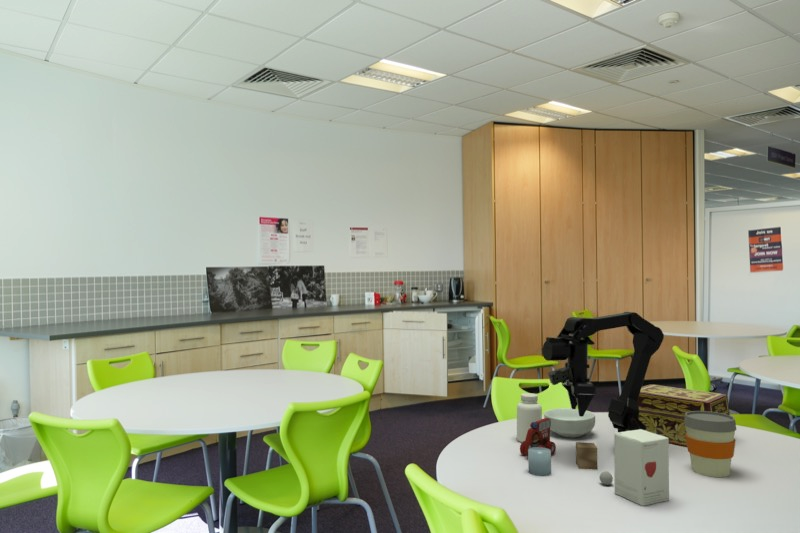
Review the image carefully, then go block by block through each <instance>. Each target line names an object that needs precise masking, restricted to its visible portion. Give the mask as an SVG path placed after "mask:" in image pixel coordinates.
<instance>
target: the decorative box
mask: <svg viewBox="0 0 800 533" xmlns="http://www.w3.org/2000/svg"><path fill="white" fill-rule="evenodd" d="M728 399H729V398H728V394H725V393H718V392H712V391H711V392H710V391H702V390H697V389H688V388H683V387H682V388H681V387H674V386H667V385H666V386H665V385H660V384H652V383H651V384H647V385H644V386H643V385H642V388H641V391H640V394H639V397H638V407H639V418H638V419H639V420H640V421H641V422H642V423H643V424H644V425H645V426H646V430H645V431H648V432H651V433H654V434H658V435H661V436H664V437H667V438H669V439H668V440H669V444H670V445H674V446H679V447H683V448H687V442H686V436H685V434H686V433H687V432H686V426H685V425H684V419H685V413H686V412H690V411H710V412H718V413H723V414H727V415H730V416H731V414H730V405H729V400H728Z"/></svg>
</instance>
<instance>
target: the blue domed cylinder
mask: <svg viewBox="0 0 800 533" xmlns="http://www.w3.org/2000/svg"><path fill="white" fill-rule="evenodd" d="M527 457H528V465H527V466H528V473H529V474H530V475H533V476H537V477H546V476H547V477H548V476H550V475H552V456H551V450H550V449H547V448H543V447H532V448H529V449H528V455H527Z"/></svg>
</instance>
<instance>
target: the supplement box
mask: <svg viewBox="0 0 800 533" xmlns="http://www.w3.org/2000/svg"><path fill="white" fill-rule="evenodd" d="M613 434H614V435H613V436H614V437H613V438H614V439H613V440H614V442H613V443H614V450H613V452H614V455H613V457H614V464H613V465H614V473H613V474H614V477H613V481H614V494H616V495H618V496H620V497H622V498H625V499H627V500H629V501H631V502H633V503H635V504H637V505H640V506H641V507H642V506H643V507H644V506H650V505H652V504H657V503H661V502H666V501H667V502H668V501H670V478H669V477H670V470H669V468H670V463H669V462H670V461H669V459H670V456H669V455H670V454H669V440H668V439H669V438H667V437H664V436H661V435H658V434H654V433H651V432H648V431H645V430H642V429H639V430H632V431H625V432H618V431H617V432H614V433H613Z"/></svg>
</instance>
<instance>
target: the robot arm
mask: <svg viewBox="0 0 800 533" xmlns="http://www.w3.org/2000/svg"><path fill="white" fill-rule="evenodd" d="M623 327H626V329H627V331H628V333H630V334H631V335H632V344H633V355H632V358H631V361H630V364H629V368H628V371H627V374H626V377H625V380H624V384H623V387H622V389H621V392H620V395H619V396H618V397H617V398H611V399H610V404H609V407H608V408H607V411H608V413H607V417H608V419H609V421H610V423H611V424H612V427H613V428H614V429H616V430H617V433H618V432H625V431H632V430H639V429H642V430H646V426H645V425H644V424H643V423H642V422H641V421H640V420H639V419H638V418H639V407H638V397H639V394H640V391H641V388H642V387H643V384H644V380H645V378H646V374H647V372H648V368H649V366H650V361H651V359H652V356H653V355H654V354H655V353H656V352H657V351H658V350H659V349H660V347H661V345H662V343H663V341H664V337H665V334H664V333H663V330H662V329H661V328H660V327H658V326H656V325H654V324H653V323H651V322H650V321H648V320H646V319H645V318H643V317H642V316H641V315H640V314H639V313H637V312H632V311H623V312H620V313H616V314H615V313H614V314H609V315H604V316H603V315H601V316H596V317H582V316H581V317H580V316H577V317H576V316H570V317H568V318H566V320H565V322H564V326H563V327H562V329H561V330H560V332H559V334H558V335H557V336H556V337H552V336H547V337H545V341H544V343H543V345H542V348H541V351H542V352H541V353H542V357H543V359H544V360H545V361H547V362H548V361H550V362H551V361H555V362H556V361H565V363H564V367H560V368H558V369H557V368H556V369H554V370H551V371H549V372H547V373H546V374H547V376H548V379H549V382H550V384H552V386H555V385H559V384H560V383H561V385H562V387H563V388H565V390H566V391H567V394H568V395H567V396H568V399H569V404H570V408H572V409H578V412H579V416H581V417H583V416H584V414H585V412H586V411H588V408H589V406H590V403H591V402H592V400H593V398H594V397H595V395H596V394H597V386H595V385H594V383H592V382H590V378H589V377H588V373H589V372H588V371H589V370H588V369H590V364H589V358H588V355H589V354H588V353H589V352H588V351H589V349H588V346H591V345H593V346H594V345H595V342H594V341H593V340H592V339H591V338H590V336H594V335H595V334H596V333H597V332H600V331H606V330H611V329H616V328H623ZM566 360H567V361H566Z"/></svg>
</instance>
